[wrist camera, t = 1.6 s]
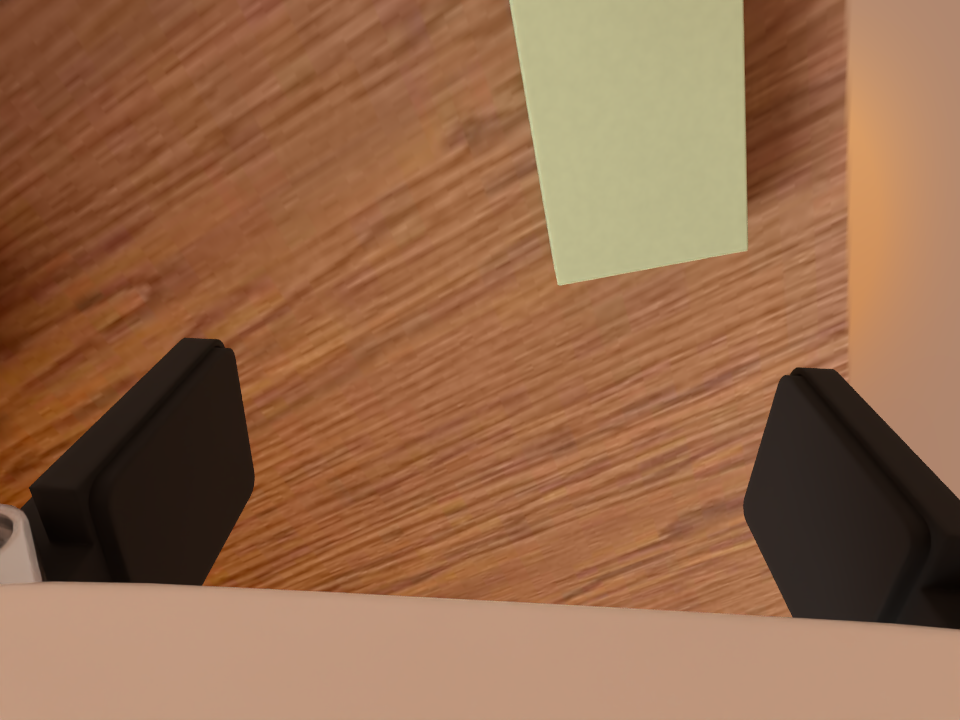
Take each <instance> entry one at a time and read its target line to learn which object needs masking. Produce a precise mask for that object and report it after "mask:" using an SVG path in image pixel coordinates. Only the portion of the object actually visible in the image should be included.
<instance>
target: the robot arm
mask: <svg viewBox="0 0 960 720" xmlns="http://www.w3.org/2000/svg"><path fill="white" fill-rule="evenodd" d="M254 478H255V476H254V468H253V462H252V456H251V450H250V444H249V438H248V432H247V425H246V419H245V413H244V407H243V401H242V395H241V389H240V383H239V377H238V371H237V365H236V359H235V354H234V352H233V350H232V349H231V348H225V347H224V345H223V343H222V342H221V341H220V340H218V339H198V338H184V339H182V340H181V341H180V342H179V343H177V344H176V345H175V346H174V347H173V348H172V349H171V350H170V351H169V352H168V353H167V354H166V355H165V356H164V357H163V358H162V359H161V360H160V361H159V362H158V363H157V364H156V365H155V366H154V367H153V368H152V369H151V370H150V371H149V372H148V373H147V374H146V375H144V376H143V377H142V378H141V379H140V380H139V381H138V382H137V383H136V384H135V385H134V386H133V387H132V388H131V389H130V390H129V391H128V392H127V393H126V394H125V395H124V396H123V397H122V398H121V399H120V400H119V401H118V402H117V403H116V404H115V405H114V406H113V407H111V408H110V409H109V410H108V411H107V412H106V413H105V414H104V415H103V416H102V417H101V418H100V419H99V420H98V421H97V422H96V423H95V424H94V425H93V426H92V427H91V428H90V429H89V430H88V431H87V432H86V433H85V434H84V435H83V436H82V437H81V438H80V439H78V440H77V441H76V442H75V443H74V444H73V445H72V446H71V447H70V448H69V449H68V450H67V451H66V452H65V453H64V454H63V455H62V456H61V457H60V458H59V459H58V460H57V461H56V462H55V463H54V464H53V465H52V466H51V467H50V468H49V469H48V470H47V471H46V472H44V473H43V474H42V475H41V476H40V477H39V478H38V479H37V480H36V481H35V482H34V483H33V484H32V485H31V486H30V487H29V489H30V492H31V494H32V498H31V499H30V500H29V501H28V502H27V503H26V504H25V505H24V506H23V507H22V508H21V509H18V508H16V507H14V506H12V505H4V504H0V720H960V500H959V499H958V498H957V497H956V496H955V494H954V493H953V492H952V491H951V490H950V489H949V488H948V487H947V486H946V485H945V484H944V483H943V482H942V481H941V480H940V479H939V478H938V477H937V476H936V475H935V474H934V473H933V471H932V470H931V469H930V468H929V467H928V466H926V464H925V463H924V462H923V461H922V460H921V459H920V458H919V457H918V456H917V455H916V454H915V453H914V452H913V451H912V450H911V449H910V447H909V446H908V445H907V444H906V443H905V442H904V441H903V440H902V439H901V438H900V437H899V436H898V435H897V434H896V433H895V432H894V431H893V430H892V429H891V428H890V427H889V426H888V425H887V423H886V422H885V421H884V420H883V419H882V418H881V417H880V416H879V415H878V414H877V413H876V412H875V411H874V410H873V409H872V408H871V407H870V406H869V405H868V404H867V403H866V402H865V401H864V399H863V398H861V397H860V395H859V394H858V393H857V392H856V391H855V390H854V389H853V388H852V387H851V386H850V385H849V384H848V383H847V382H846V381H845V380H844V379H843V378H842V376H841V375H840V374H839V373H838V372H836V371H835V370H834V369H818V368H796V369H794V370H793V371H792V373H791V374H790V375H785V376H783V377H782V378H781V379H780V381H779V384H778V387H777V390H776V393H775V397H774V400H773V404H772V407H771V410H770V414H769V417H768V420H767V424H766V427H765V430H764V434H763V437H762V440H761V444H760V447H759V451H758V454H757V457H756V461H755V464H754V467H753V471H752V474H751V477H750V481H749V484H748V487H747V491H746V494H745V498H744V505H743V509H744V516H745V519H746V522H747V524H748V526H749V528H750V530H751V532H752V534H753V536H754V538H755V540H756V543H757V545H758V547H759V549H760V551H761V553H762V555H763V557H764V559H765V561H766V563H767V565H768V567H769V569H770V571H771V573H772V575H773V578H774V580H775V582H776V584H777V586H778V588H779V590H780V592H781V594H782V596H783V598H784V600H785V602H786V604H787V606H788V608H789V610H790V613H791V615H792V617H793V618H791V617H774V616H757V615H741V614H724V613H707V612H689V611H671V610H652V609H634V608H615V607H597V606H578V605H560V604H542V603H524V602H505V601H485V600H467V599H448V598H429V597H411V596H393V595H374V594H356V593H338V592H317V591H297V590H276V589H256V588H235V587H215V586H202V584H203V583H204V581H205V579H206V577H207V575H208V573H209V571H210V570H211V568H212V566H213V564H214V562H215V560H216V559H217V557H218V555H219V553H220V551H221V549H222V547H223V546H224V544H225V542H226V540H227V538H228V536H229V535H230V533H231V531H232V529H233V527H234V525H235V523H236V522H237V520H238V518H239V516H240V514H241V512H242V511H243V509H244V507H245V505H246V503H247V501H248V499H249V498H250V496H251V493H252V491H253V487H254Z"/></svg>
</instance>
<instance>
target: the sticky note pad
mask: <svg viewBox="0 0 960 720" xmlns="http://www.w3.org/2000/svg"><path fill="white" fill-rule="evenodd" d="M509 2H510V8H511V14H512V20H513V26H514V32H515V38H516V44H517V50H518V56H519V62H520V68H521V74H522V80H523V86H524V92H525V98H526V104H527V109H528V115H529V121H530V127H531V133H532V139H533V145H534V151H535V157H536V163H537V169H538V175H539V181H540V187H541V193H542V199H543V205H544V211H545V217H546V223H547V229H548V235H549V241H550V247H551V253H552V258H553V263H554V268H555V273H556V278H557V283H558V285H565V284H570V283H576V282H581V281H586V280H592V279H597V278H603V277H608V276H613V275H619V274H624V273H629V272H635V271H640V270H646V269H651V268H656V267H662V266H667V265H673V264H678V263H683V262H689V261H694V260H699V259H705V258H710V257H716V256H721V255H726V254H732V253H737V252H743V251H747V250H748V215H747V161H746V107H745V53H744V0H509Z"/></svg>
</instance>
